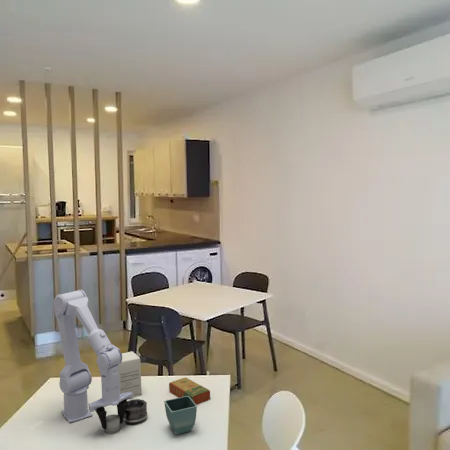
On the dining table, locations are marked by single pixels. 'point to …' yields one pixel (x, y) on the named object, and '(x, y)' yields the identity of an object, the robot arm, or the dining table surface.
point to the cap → (112, 424)
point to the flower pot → (181, 414)
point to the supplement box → (130, 374)
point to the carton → (189, 390)
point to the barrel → (135, 412)
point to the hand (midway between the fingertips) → (112, 425)
